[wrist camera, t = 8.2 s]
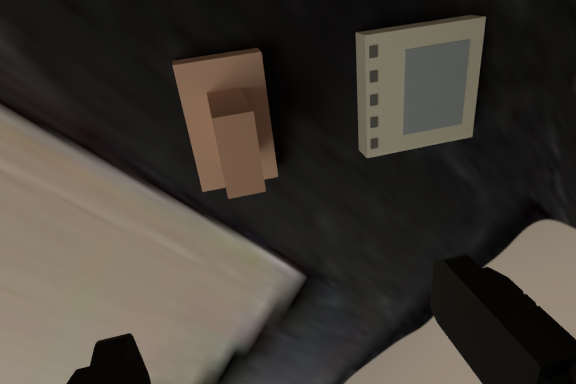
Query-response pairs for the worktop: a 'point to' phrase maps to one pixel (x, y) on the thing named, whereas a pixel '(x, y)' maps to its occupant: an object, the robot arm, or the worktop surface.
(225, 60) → the stub
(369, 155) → the control panel
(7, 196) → the worktop surface
